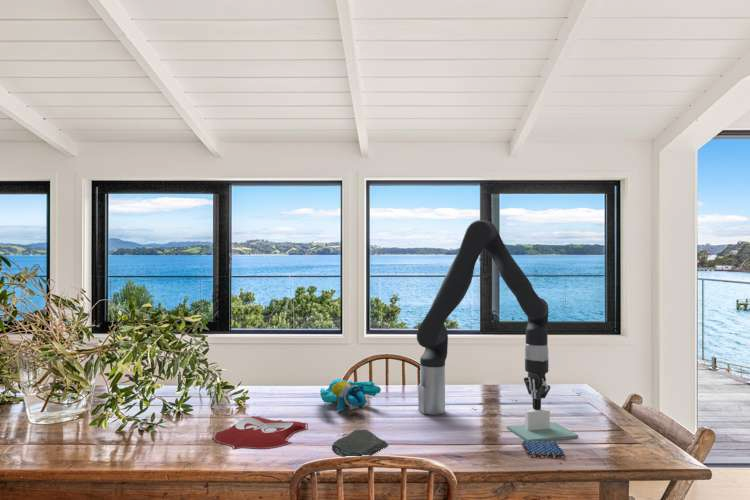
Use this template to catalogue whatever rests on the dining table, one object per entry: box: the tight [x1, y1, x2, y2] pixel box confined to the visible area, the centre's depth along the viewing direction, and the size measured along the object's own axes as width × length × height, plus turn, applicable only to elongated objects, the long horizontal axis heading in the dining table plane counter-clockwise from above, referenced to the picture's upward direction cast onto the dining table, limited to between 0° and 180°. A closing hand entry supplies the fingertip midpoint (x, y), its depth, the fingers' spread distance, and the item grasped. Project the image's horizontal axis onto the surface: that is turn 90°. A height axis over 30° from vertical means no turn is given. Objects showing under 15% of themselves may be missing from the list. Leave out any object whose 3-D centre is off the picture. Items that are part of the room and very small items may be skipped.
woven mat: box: [521, 440, 566, 460], centre depth 151 cm, size 10×11×2 cm
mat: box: [506, 421, 579, 442], centre depth 167 cm, size 18×13×1 cm
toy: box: [319, 378, 382, 413], centre depth 193 cm, size 22×12×25 cm
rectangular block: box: [524, 408, 551, 430], centre depth 168 cm, size 6×2×8 cm
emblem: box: [212, 415, 309, 450], centre depth 165 cm, size 29×3×30 cm
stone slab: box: [331, 429, 389, 457], centre depth 155 cm, size 24×17×2 cm
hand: (536, 409), depth 170 cm, fingers closed
